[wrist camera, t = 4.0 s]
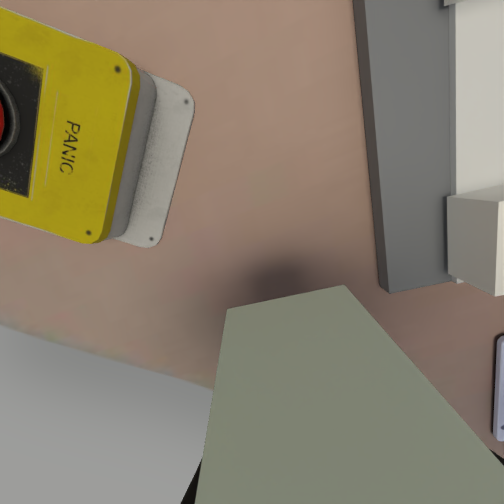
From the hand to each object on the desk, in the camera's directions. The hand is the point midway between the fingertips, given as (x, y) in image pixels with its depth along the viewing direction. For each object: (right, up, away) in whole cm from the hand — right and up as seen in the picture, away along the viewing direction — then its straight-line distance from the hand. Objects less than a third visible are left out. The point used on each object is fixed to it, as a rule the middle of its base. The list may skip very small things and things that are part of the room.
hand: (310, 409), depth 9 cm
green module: (0, +1, +2) cm, 2 cm away
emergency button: (-13, +12, +6) cm, 19 cm away
